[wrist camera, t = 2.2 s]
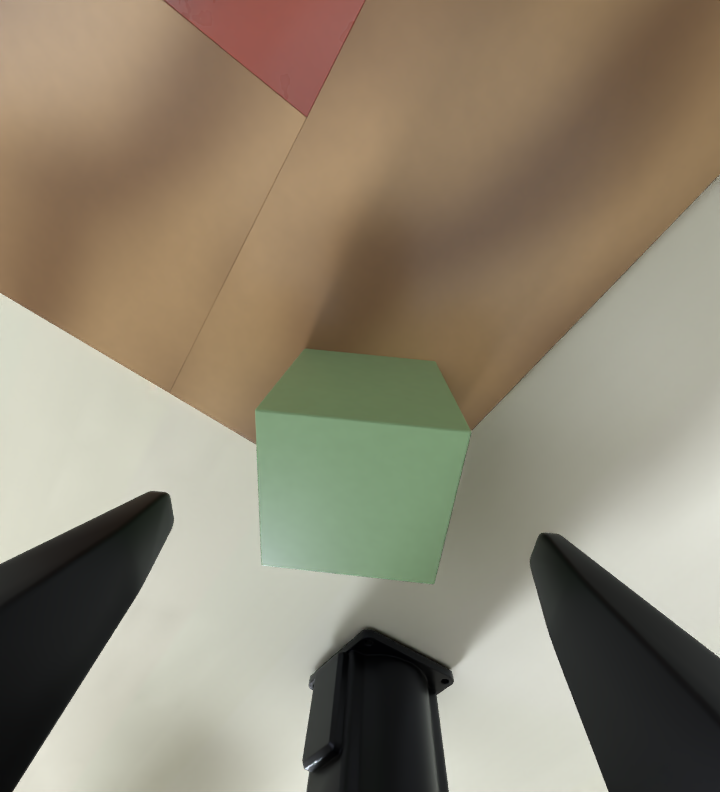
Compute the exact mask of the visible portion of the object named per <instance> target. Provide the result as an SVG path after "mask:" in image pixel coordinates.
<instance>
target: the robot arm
mask: <svg viewBox="0 0 720 792" xmlns="http://www.w3.org/2000/svg"><path fill="white" fill-rule="evenodd" d="M173 523H174V516H173V510H172V504H171V498H170V495H169V494H168V493H166V492H158V491H150V492H147V493H145V494H143V495H141V496H139V497H137V498H135V499H133V500H131V501H129V502H127V503H125V504H123V505H120V506H118V507H116V508H114V509H112V510H110V511H108V512H106V513H104V514H102V515H100V516H98V517H96V518H94V519H92V520H90V521H88V522H86V523H84V524H82V525H79V526H77V527H75V528H73V529H71V530H69V531H67V532H65V533H63V534H61V535H59V536H57V537H55V538H53V539H51V540H49V541H47V542H45V543H43V544H40V545H38V546H36V547H34V548H32V549H30V550H28V551H26V552H24V553H22V554H20V555H18V556H16V557H14V558H12V559H10V560H8V561H6V562H4V563H1V564H0V792H13V790H14V789H15V787H16V786H17V784H18V782H19V781H20V779H21V778H22V776H23V775H24V773H25V771H26V770H27V768H28V767H29V765H30V763H31V762H32V760H33V759H34V757H35V756H36V754H37V752H38V751H39V749H40V748H41V746H42V745H43V743H44V741H45V740H46V738H47V737H48V735H49V734H50V732H51V730H52V729H53V727H54V726H55V724H56V722H57V721H58V719H59V718H60V716H61V715H62V713H63V711H64V710H65V708H66V707H67V705H68V704H69V702H70V700H71V699H72V697H73V696H74V694H75V692H76V691H77V689H78V688H79V686H80V685H81V683H82V681H83V680H84V678H85V677H86V675H87V674H88V672H89V670H90V669H91V667H92V666H93V664H94V663H95V661H96V659H97V658H98V656H99V655H100V653H101V651H102V650H103V648H104V647H105V645H106V644H107V642H108V640H109V639H110V637H111V636H112V634H113V633H114V631H115V629H116V628H117V626H118V625H119V623H120V621H121V620H122V618H123V617H124V615H125V614H126V612H127V610H128V609H129V607H130V606H131V604H132V603H133V601H134V599H135V598H136V596H137V594H138V593H139V591H140V589H141V587H142V586H143V584H144V582H145V580H146V578H147V576H148V574H149V572H150V570H151V568H152V566H153V564H154V562H155V561H156V559H157V557H158V555H159V553H160V551H161V549H162V547H163V545H164V543H165V541H166V539H167V537H168V535H169V533H170V531H171V529H172V526H173ZM530 567H531V571H532V575H533V579H534V582H535V586H536V589H537V593H538V597H539V600H540V604H541V607H542V611H543V615H544V618H545V622H546V625H547V629H548V632H549V635H550V638H551V641H552V644H553V647H554V649H555V652H556V655H557V657H558V660H559V662H560V665H561V668H562V670H563V673H564V676H565V678H566V681H567V683H568V686H569V689H570V691H571V694H572V697H573V699H574V702H575V705H576V707H577V710H578V712H579V715H580V718H581V720H582V723H583V726H584V728H585V731H586V733H587V736H588V739H589V741H590V744H591V747H592V749H593V752H594V754H595V757H596V760H597V762H598V765H599V768H600V770H601V773H602V775H603V778H604V781H605V783H606V786H607V789H608V791H609V792H720V658H719V657H718V656H717V655H715V654H714V653H713V652H711V651H710V650H709V649H707V648H706V647H705V646H704V645H702V644H701V643H700V642H698V641H697V640H696V639H695V638H693V637H692V636H691V635H689V634H688V633H687V632H685V631H684V630H683V629H682V628H680V627H679V626H678V625H676V624H675V623H674V622H673V621H671V620H670V619H669V618H667V617H666V616H665V615H663V614H662V613H661V612H660V611H658V610H657V609H656V608H654V607H653V606H652V605H651V604H649V603H648V602H647V601H645V600H644V599H643V598H641V597H640V596H639V595H638V594H636V593H635V592H634V591H632V590H631V589H630V588H628V587H627V586H626V585H625V584H623V583H622V582H621V581H619V580H618V579H617V578H616V577H614V576H613V575H612V574H610V573H609V572H608V571H606V570H605V569H604V568H603V567H601V566H600V565H599V564H597V563H596V562H595V561H594V560H592V559H591V558H590V557H588V556H587V555H586V554H584V553H583V552H582V551H581V550H579V549H578V548H577V547H575V546H574V545H573V544H572V543H570V542H569V541H568V540H566V539H565V538H564V537H562V536H561V535H559V534H553V533H541V534H540V535H539V536H538V538H537V541H536V544H535V546H534V549H533V551H532V554H531V557H530ZM453 682H454V680H453V674H452V671H450V670H449V669H447V668H445V667H443V666H441V665H439V664H437V663H435V662H434V661H432V660H430V659H428V658H426V657H424V656H422V655H420V654H418V653H416V652H414V651H412V650H410V649H408V648H406V647H404V646H403V645H401V644H399V643H397V642H395V641H393V640H391V639H389V638H387V637H385V636H383V635H381V634H379V633H377V632H375V631H373V630H369V629H367V630H363V631H362V632H360V633H359V634H358V635H357V636H356V637H355V638H354V639H352V640H351V641H350V642H349V643H348V644H347V645H346V646H344V647H343V648H342V649H341V650H340V651H339V652H338V653H336V654H335V655H334V656H333V657H332V658H331V659H330V660H328V661H327V662H326V663H325V664H324V665H323V666H322V667H320V668H319V669H318V670H317V671H316V672H315V673H314V674H312V675H311V677H310V680H309V688H310V689H312V690H313V695H312V702H311V708H310V715H309V721H308V728H307V734H306V741H305V747H304V753H303V760H302V761H303V766H304V769H305V770H308V771H309V777H308V785H307V792H449V790H448V782H447V774H446V766H445V758H444V750H443V743H442V735H441V727H440V719H439V711H438V703H437V694H439V693H440V692H441V691H443V690H444V689H446V688H447V687H449V686H450V685H452V684H453Z"/></svg>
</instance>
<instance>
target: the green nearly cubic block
mask: <svg viewBox="0 0 720 792" xmlns="http://www.w3.org/2000/svg"><path fill="white" fill-rule="evenodd" d="M255 422H256V446H257V470H258V493H259V517H260V541H261V564H262V565H263V566H272V567H281V568H290V569H299V570H308V571H317V572H326V573H335V574H344V575H353V576H362V577H372V578H381V579H390V580H399V581H408V582H417V583H426V584H434V583H435V579H436V575H437V571H438V567H439V563H440V559H441V555H442V551H443V546H444V542H445V538H446V534H447V530H448V526H449V522H450V518H451V514H452V510H453V506H454V501H455V497H456V493H457V489H458V485H459V481H460V477H461V473H462V469H463V465H464V461H465V456H466V452H467V448H468V444H469V440H470V436H471V430H470V428H469V426H468V424H467V422H466V420H465V418H464V416H463V414H462V412H461V410H460V408H459V406H458V405H457V403H456V401H455V399H454V397H453V395H452V393H451V391H450V389H449V387H448V385H447V383H446V381H445V379H444V377H443V375H442V373H441V371H440V370H439V368H438V366H437V364H436V362H435V361H428V360H417V359H407V358H397V357H387V356H376V355H366V354H356V353H346V352H335V351H325V350H315V349H304V350H303V351H302V352H301V354H300V355H299V356H298V357H297V359H296V360H295V361H294V362H293V364H292V365H291V366H290V367H289V368H288V370H287V371H286V372H285V373H284V375H283V376H282V377H281V378H280V380H279V381H278V382H277V383H276V385H275V386H274V387H273V388H272V389H271V391H270V392H269V393H268V394H267V396H266V397H265V398H264V399H263V401H262V402H261V403H260V404H259V406H258V407H257V408H256V409H255Z"/></svg>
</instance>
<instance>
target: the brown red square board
mask: <svg viewBox="0 0 720 792" xmlns="http://www.w3.org/2000/svg"><path fill="white" fill-rule="evenodd" d="M719 175H720V0H0V293H2V294H3V295H5V296H7V297H8V298H10V299H12V300H13V301H15V302H17V303H18V304H20V305H22V306H23V307H25V308H27V309H28V310H30V311H32V312H34V313H35V314H37V315H39V316H40V317H42V318H44V319H45V320H47V321H49V322H50V323H52V324H54V325H55V326H57V327H59V328H61V329H62V330H64V331H66V332H67V333H69V334H71V335H72V336H74V337H76V338H77V339H79V340H81V341H82V342H84V343H86V344H88V345H89V346H91V347H93V348H94V349H96V350H98V351H99V352H101V353H103V354H104V355H106V356H108V357H109V358H111V359H113V360H114V361H116V362H118V363H120V364H121V365H123V366H125V367H126V368H128V369H130V370H131V371H133V372H135V373H136V374H138V375H140V376H141V377H143V378H145V379H147V380H148V381H150V382H152V383H153V384H155V385H157V386H158V387H160V388H162V389H163V390H165V391H167V392H168V393H170V394H172V395H174V396H175V397H177V398H179V399H180V400H182V401H184V402H185V403H187V404H189V405H190V406H192V407H194V408H195V409H197V410H199V411H200V412H202V413H204V414H206V415H207V416H209V417H211V418H212V419H214V420H216V421H217V422H219V423H221V424H222V425H224V426H226V427H227V428H229V429H231V430H233V431H234V432H236V433H238V434H239V435H241V436H243V437H244V438H246V439H248V440H249V441H251V442H253V443H254V444H256V422H255V409H256V408H257V407H258V406H259V404H260V403H261V402H262V401H263V399H264V398H265V397H266V396H267V394H268V393H269V392H270V391H271V389H272V388H273V387H274V386H275V385H276V383H277V382H278V381H279V380H280V378H281V377H282V376H283V375H284V373H285V372H286V371H287V370H288V368H289V367H290V366H291V365H292V364H293V362H294V361H295V360H296V359H297V357H298V356H299V355H300V354H301V352H302V351H303V350H304V349H315V350H325V351H335V352H346V353H356V354H366V355H376V356H387V357H397V358H407V359H417V360H428V361H435V362H436V364H437V366H438V368H439V370H440V371H441V373H442V375H443V377H444V379H445V381H446V383H447V385H448V387H449V389H450V391H451V393H452V395H453V397H454V399H455V401H456V403H457V405H458V406H459V408H460V410H461V412H462V414H463V416H464V418H465V420H466V422H467V424H468V426H469V428H470V430H471V431H472V430H473V429H474V428H475V427H476V426H477V425H478V424H479V423H480V421H481V420H482V419H483V418H484V417H485V416H486V415H487V414H488V413H489V412H490V411H491V410H492V409H493V408H494V407H495V406H496V405H497V404H498V403H499V402H500V401H501V400H502V399H503V398H504V397H505V396H506V395H507V394H508V393H509V392H510V391H511V389H512V388H513V387H514V386H515V385H516V384H517V383H518V382H519V381H520V380H521V379H522V378H523V377H524V376H525V375H526V374H527V373H528V372H529V371H530V370H531V369H532V368H533V367H534V366H535V365H536V364H537V363H538V362H539V361H540V360H541V359H542V357H543V356H544V355H545V354H546V353H547V352H548V351H549V350H550V349H551V348H552V347H553V346H554V345H555V344H556V343H557V342H558V341H559V340H560V339H561V338H562V337H563V336H564V335H565V334H566V333H567V332H568V331H569V330H570V329H571V328H572V326H573V325H574V324H575V323H576V322H577V321H578V320H579V319H580V318H581V317H582V316H583V315H584V314H585V313H586V312H587V311H588V310H589V309H590V308H591V307H592V306H593V305H594V304H595V303H596V302H597V301H598V300H599V299H600V298H601V297H602V296H603V294H604V293H605V292H606V291H607V290H608V289H609V288H610V287H611V286H612V285H613V284H614V283H615V282H616V281H617V280H618V279H619V278H620V277H621V276H622V275H623V274H624V273H625V272H626V271H627V270H628V269H629V268H630V267H631V266H632V265H633V264H634V262H635V261H636V260H637V259H638V258H639V257H640V256H641V255H642V254H643V253H644V252H645V251H646V250H647V249H648V248H649V247H650V246H651V245H652V244H653V243H654V242H655V241H656V240H657V239H658V238H659V237H660V236H661V235H662V234H663V233H664V231H665V230H666V229H667V228H668V227H669V226H670V225H671V224H672V223H673V222H674V221H675V220H676V219H677V218H678V217H679V216H680V215H681V214H682V213H683V212H684V211H685V210H686V209H687V208H688V207H689V206H690V205H691V204H692V203H693V202H694V201H695V199H696V198H697V197H698V196H699V195H700V194H701V193H702V192H703V191H704V190H705V189H706V188H707V187H708V186H709V185H710V184H711V183H712V182H713V181H714V180H715V179H716V178H717V177H718V176H719Z"/></svg>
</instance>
